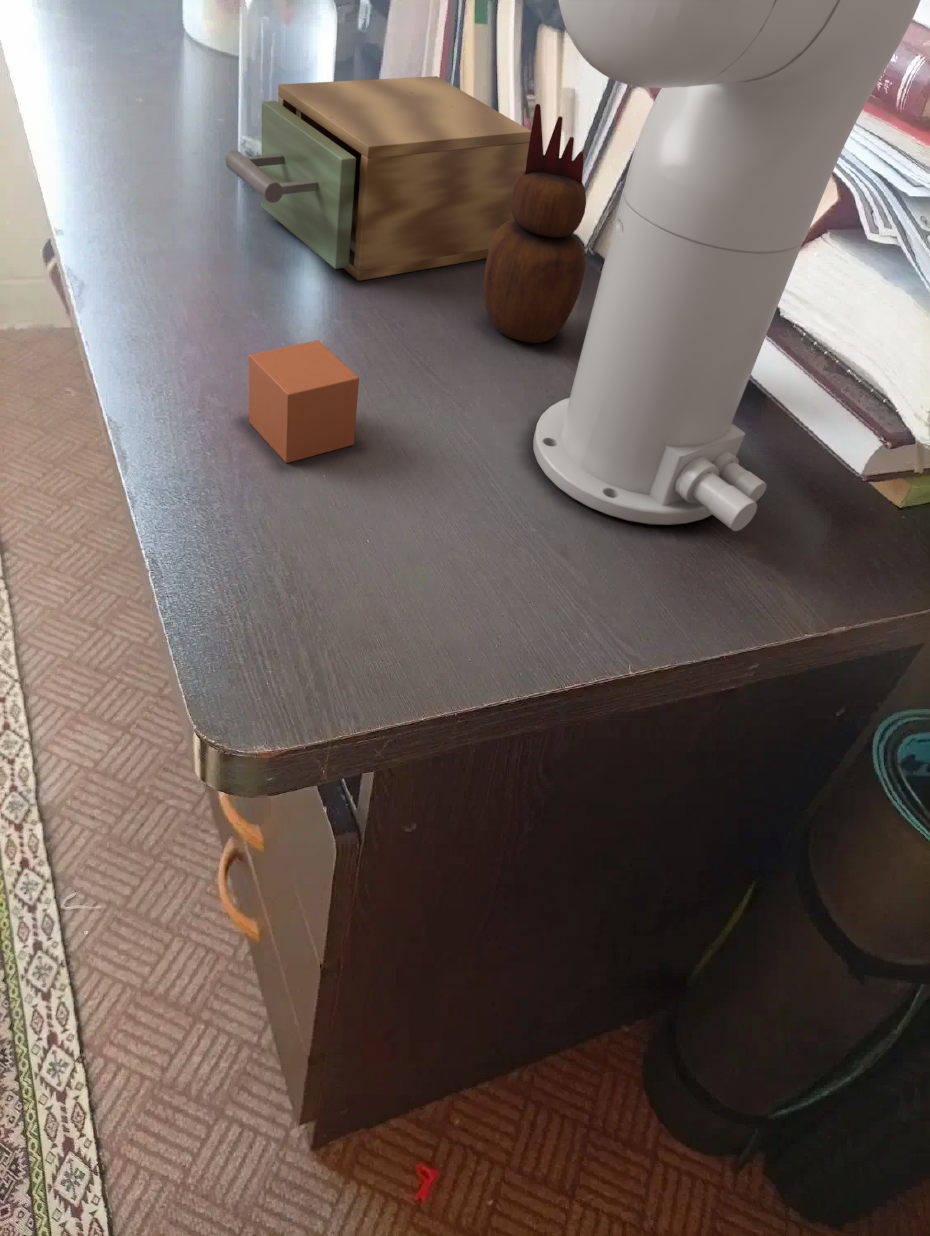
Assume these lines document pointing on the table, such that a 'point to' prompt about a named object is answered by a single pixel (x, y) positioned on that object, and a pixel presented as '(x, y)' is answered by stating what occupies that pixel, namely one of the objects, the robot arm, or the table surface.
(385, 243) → the cabinet
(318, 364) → the block
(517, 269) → the wooden figurine
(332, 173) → the drawer
